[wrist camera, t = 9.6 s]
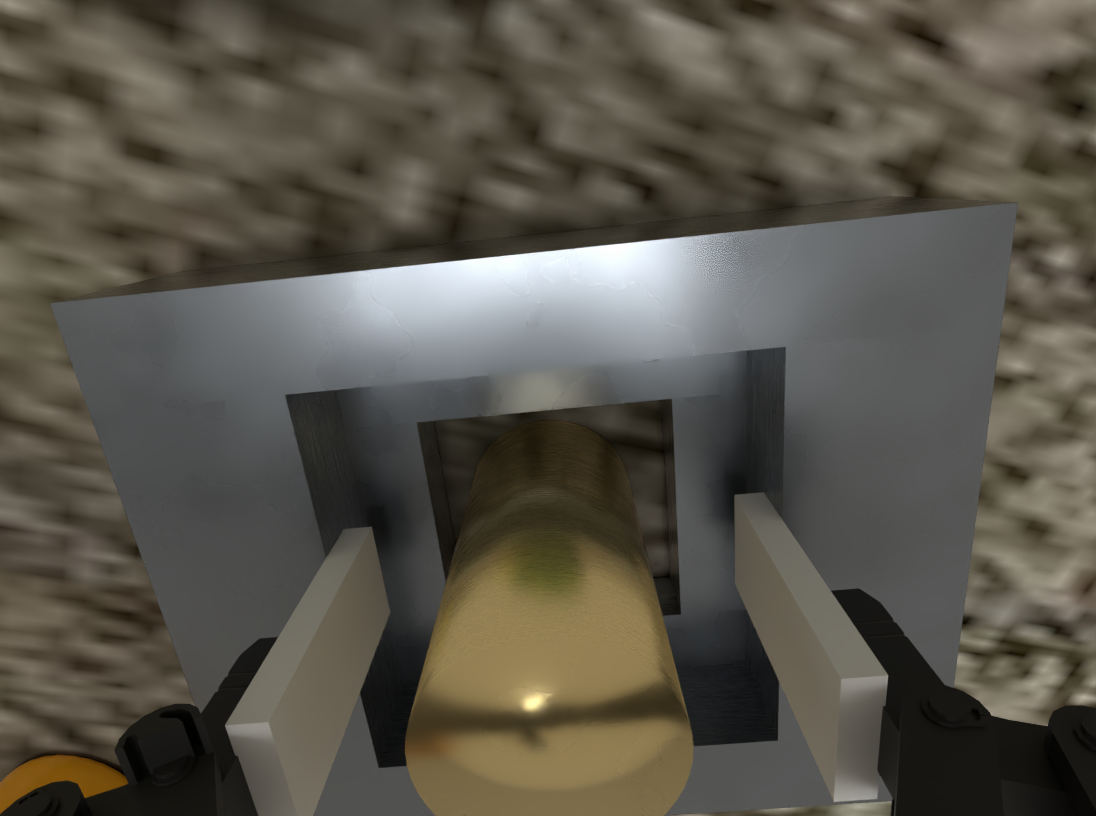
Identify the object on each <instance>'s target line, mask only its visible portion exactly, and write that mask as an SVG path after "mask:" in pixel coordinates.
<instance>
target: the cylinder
mask: <svg viewBox="0 0 1096 816" xmlns="http://www.w3.org/2000/svg"><path fill="white" fill-rule="evenodd" d="M67 780H68V781H71V782H74V783H78V785H79V787H80V789H81V791H82V793H83V795H84V798H87V797H90V796H93V795H96V794H99V793H102V792H105V791H109V790H112V789H115V788H118V787H121V786H124V785H126V784H128V781H127V779H126V777H125V776H124V775H123V774H121V773H120V772H119V771H117V770H115V769H113V768H111V767H109V766H107V765H105V764H103V763H100V762H97V761H94V760H91V759H88V758H82V757H78V756H71V755H52V756H43V757H40V758H36V759H32V760H30V761H28V762H26V763H24V764H22V765H20V766H19V767H17V768H16V769H14V770H13V771H12V772H10V773H9V774H8V775H7V776H6V777H5V778H4V779H3V780H2V781H1V782H0V814H1V813H2V812H3V811H4V810H5V809H7V808H8V807H9V806H10V805H11V804H13V803H14V802H15V801H16V800H17V799H19V798H21V797H22V796H24V795H26V794H28V793H29V792H31V791H33V790H34V789H36V788H39V787H42V786H44V785H47V784H50V783H52V782H59V781H67Z"/></svg>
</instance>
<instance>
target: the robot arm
mask: <svg viewBox="0 0 1096 816" xmlns="http://www.w3.org/2000/svg"><path fill="white" fill-rule="evenodd" d="M734 515H735V585H736V587H737V590H738V592H739V594H740V596H741V598H742V601H743V603H744V605H745V607H746V609H747V612H748V614H749V616H750V618H751V620H752V623H753V625H754V627H755V629H756V631H757V634H758V636H759V638H760V640H761V642H762V645H763V647H764V649H765V651H766V653H767V656H768V658H769V660H770V662H771V665H772V667H773V669H774V671H775V673H776V676H777V678H778V680H779V682H780V684H781V687H782V689H783V691H784V693H785V695H786V698H787V700H788V702H789V704H790V706H791V709H792V711H793V713H794V715H795V717H796V720H797V722H798V724H799V726H800V728H801V731H802V733H803V735H804V737H805V740H806V742H807V744H808V746H809V748H810V751H811V753H812V755H813V757H814V759H815V762H816V764H817V766H818V768H819V770H820V773H821V775H822V777H823V779H824V781H825V784H826V786H827V788H828V790H829V792H830V795H831V797H832V799H833V801H834V802H840V801H855V800H870V799H877V795H878V784H879V775H880V776H881V778H882V780H883V782H884V784H885V785H886V787H887V789H888V791H889V793H890V795H891V796H892V806H891V816H1096V708H1091V707H1086V706H1064V707H1062V708H1059V709H1057V710H1055V711H1053V713H1052V715H1051V717H1050V719H1049V723H1048V726H1042V725H1036V724H1030V723H1024V722H1018V721H1012V720H1007V719H1003V718H998V717H994V716H991V714H990V712H989V711H988V710H987V709H986V708H985V707H984V706H983V705H982V704H981V703H980V702H979V701H978V700H976V699H975V698H973V697H971V696H970V695H968V694H967V693H965V692H963V691H961V690H958V689H955V688H952V687H949V686H947V685H944V683H943V682H942V681H941V679H940V678H939V677H938V676H937V674H936V673H935V672H934V670H933V669H932V668H931V667H930V665H929V664H928V663H927V661H926V660H925V659H924V658H923V656H922V655H921V654H920V653H919V651H918V650H917V649H916V647H915V646H914V645H913V644H912V642H911V641H910V640H909V638H908V637H907V636H905V635H904V632H903V631H902V629H901V628H900V627H899V626H898V624H897V623H896V622H894V620H893V618H892V617H891V615H890V614H889V613H888V611H887V610H886V609H885V608H884V606H883V605H882V604H881V602H879V601H878V600H876V599H875V598H873V597H872V596H870V595H869V594H867V593H866V592H864V591H863V590H861V589H859V588H856V589H844V590H832V591H830V589H829V588H828V586H827V585H826V583H825V582H824V580H823V579H822V577H821V576H820V574H819V573H818V571H817V570H816V568H815V567H814V566H813V564H812V563H811V561H810V560H809V558H808V557H807V555H806V554H805V552H804V551H803V549H802V548H801V546H800V545H799V543H798V542H797V541H796V539H795V538H794V536H793V535H792V533H791V532H790V530H789V529H788V527H787V526H786V524H785V523H784V521H783V520H782V518H781V517H780V516H779V514H778V513H777V511H776V510H775V508H774V507H773V505H772V504H771V502H770V501H769V499H768V498H767V496H766V495H765V493H764V492H762V493H750V494H739V495H734ZM389 615H390V608H389V604H388V599H387V595H386V590H385V585H384V581H383V576H382V572H381V567H380V563H379V558H378V553H377V549H376V544H375V540H374V535H373V530H372V527H362V528H351V529H343V531H342V533H341V534H340V536H339V538H338V539H337V541H336V543H335V544H334V546H333V548H332V549H331V551H330V553H329V554H328V556H327V558H326V559H325V561H324V562H323V564H322V566H321V567H320V569H319V571H318V572H317V574H316V576H315V577H314V579H313V581H312V582H311V584H310V586H309V587H308V589H307V591H306V592H305V594H304V596H303V597H302V599H301V600H300V602H299V604H298V605H297V607H296V609H295V610H294V612H293V614H292V615H291V617H290V619H289V620H288V622H287V624H286V625H285V627H284V629H283V630H282V632H281V634H280V635H279V637H270V638H259V639H258V640H257V641H256V642H255V643H253V644H252V645H251V646H250V647H249V648H248V649H246V650H245V651H244V652H243V653H242V654H241V655H240V656H239V657H238V659H237V660H236V662H235V663H234V665H233V666H232V668H231V669H230V671H229V672H228V677H225V678H224V680H223V681H222V683H221V684H220V686H219V687H218V692H215V693H214V695H213V696H212V698H211V699H210V701H209V702H208V704H207V705H206V707H205V708H204V710H203V711H202V713H201V714H200V711H199V709H198V708H197V707H195V706H193V705H191V704H174V705H170V706H166V707H163V708H160V709H158V710H156V711H154V712H152V713H150V714H148V715H146V716H144V717H143V718H141V719H140V720H139V721H137V722H136V723H134V724H133V725H132V726H130V727H129V729H128V730H127V731H126V732H125V733H124V734H123V735H122V737H121V738H120V739H119V741H118V743H117V746H116V748H115V753H116V755H117V758H118V760H119V762H120V765H121V767H122V769H123V772H124V774H125V777H126V779H127V781H128V784H126V785H124V786H121V787H118V788H115V789H112V790H109V791H105V792H102V793H99V794H96V795H93V796H90V797H87V798H84V795H83V793H82V791H81V789H80V787H79V785H78V783H74V782H71V781H68V780H67V781H59V782H52V783H50V784H47V785H44V786H42V787H39V788H36V789H34V790H33V791H31V792H29V793H28V794H26V795H24V796H22V797H21V798H19V799H17V800H16V801H15V802H14V803H13V804H11V805H10V806H9V807H8V808H7V809H5V810H4V811H3V812H2V813H1V814H0V816H313V815H314V812H315V809H316V807H317V804H318V801H319V799H320V796H321V794H322V791H323V788H324V786H325V783H326V780H327V778H328V775H329V773H330V770H331V767H332V765H333V762H334V759H335V757H336V754H337V751H338V749H339V746H340V744H341V741H342V738H343V736H344V733H345V730H346V728H347V725H348V722H349V720H350V717H351V715H352V712H353V709H354V707H355V704H356V701H357V699H358V696H359V694H360V691H361V688H362V686H363V683H364V680H365V678H366V675H367V672H368V670H369V667H370V665H371V662H372V659H373V657H374V654H375V651H376V649H377V646H378V643H379V641H380V638H381V636H382V633H383V630H384V628H385V625H386V622H387V620H388V617H389Z"/></svg>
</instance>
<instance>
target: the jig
mask: <svg viewBox="0 0 1096 816" xmlns="http://www.w3.org/2000/svg"><path fill="white" fill-rule="evenodd" d="M1017 205H1018V202H999V201H978V200H956V199H935V198H914V197H884V198H875V199H865V200H856V201H846V202H837V203H827V204H818V205H809V206H799V207H790V208H780V209H771V210H761V211H752V212H742V213H733V214H723V215H714V216H704V217H695V218H685V219H676V220H667V221H657V222H648V223H638V224H629V225H619V226H610V227H600V228H591V229H581V230H572V231H562V232H553V233H543V234H534V235H525V236H515V237H506V238H496V239H487V240H477V241H468V242H458V243H449V244H439V245H430V246H420V247H411V248H401V249H392V250H383V251H373V252H364V253H354V254H345V255H335V256H326V257H316V258H307V259H297V260H288V261H278V262H269V263H259V264H250V265H241V266H231V267H222V268H212V269H203V270H193V271H184V272H177V273H173V274H169V275H165V276H161V277H157V278H153V279H149V280H144V281H140V282H136V283H132V284H128V285H124V286H120V287H116V288H111V289H107V290H103V291H99V292H95V293H91V294H87V295H83V296H78V297H74V298H70V299H66V300H62V301H58V302H54V303H50V304H51V307H52V310H53V313H54V315H55V318H56V321H57V324H58V326H59V329H60V332H61V335H62V338H63V340H64V343H65V346H66V349H67V351H68V354H69V357H70V360H71V362H72V365H73V368H74V371H75V374H76V376H77V379H78V382H79V385H80V387H81V390H82V393H83V396H84V399H85V401H86V404H87V407H88V410H89V412H90V415H91V418H92V421H93V423H94V426H95V429H96V432H97V435H98V437H99V440H100V443H101V446H102V448H103V451H104V454H105V457H106V459H107V462H108V465H109V468H110V471H111V473H112V476H113V479H114V482H115V484H116V487H117V490H118V493H119V496H120V498H121V501H122V504H123V507H124V509H125V512H126V515H127V518H128V520H129V523H130V526H131V529H132V532H133V534H134V537H135V540H136V543H137V545H138V548H139V551H140V554H141V557H142V559H143V562H144V565H145V568H146V570H147V573H148V576H149V579H150V581H151V584H152V587H153V590H154V593H155V595H156V598H157V601H158V604H159V606H160V609H161V612H162V615H163V617H164V620H165V623H166V626H167V629H168V631H169V634H170V637H171V640H172V642H173V645H174V648H175V651H176V654H177V656H178V659H179V662H180V665H181V667H182V670H183V673H184V676H185V678H186V681H187V684H188V687H189V690H190V692H191V695H192V698H193V701H194V703H195V706H196V707H197V708H198V709H199V711H200V714H201V713H202V711H203V710H204V708H205V707H206V705H207V704H208V702H209V701H210V699H211V698H212V696H213V695H214V693H215V692H218V687H219V686H220V684H221V683H222V681H223V680H224V678H225V677H228V672H229V671H230V669H231V668H232V666H233V665H234V663H235V662H236V660H237V659H238V657H239V656H240V655H241V654H242V653H243V652H244V651H245V650H246V649H248V648H249V647H250V646H251V645H252V644H253V643H255V642H256V641H257V640H258V639H259V638H270V637H279V635H280V634H281V632H282V630H283V629H284V627H285V625H286V624H287V622H288V620H289V619H290V617H291V615H292V614H293V612H294V610H295V609H296V607H297V605H298V604H299V602H300V600H301V599H302V597H303V596H304V594H305V592H306V591H307V589H308V587H309V586H310V584H311V582H312V581H313V579H314V577H315V576H316V574H317V572H318V571H319V569H320V567H321V566H322V564H323V562H324V561H325V559H326V558H327V556H328V554H329V553H330V551H331V549H332V548H333V546H334V544H335V543H336V541H337V539H338V538H339V536H340V534H341V533H342V531H343V529H351V528H362V527H372V530H373V535H374V540H375V544H376V549H377V553H378V558H379V563H380V567H381V572H382V576H383V581H384V585H385V590H386V595H387V599H388V604H389V608H390V615H389V617H388V620H387V622H386V625H385V628H384V630H383V633H382V636H381V638H380V641H379V643H378V646H377V649H376V651H375V654H374V657H373V659H372V662H371V665H370V667H369V670H368V672H367V675H366V678H365V680H364V683H363V686H362V688H361V691H360V694H359V696H358V699H357V701H356V704H355V707H354V709H353V712H352V715H351V717H350V720H349V722H348V725H347V728H346V730H345V733H344V736H343V738H342V741H341V744H340V746H339V749H338V751H337V754H336V757H335V759H334V762H333V765H332V767H331V770H330V773H329V775H328V778H327V780H326V783H325V786H324V788H323V791H322V794H321V796H320V799H319V801H318V804H317V807H316V809H315V812H314V815H313V816H436V815H435V814H434V813H433V812H432V811H431V810H430V809H429V808H428V807H427V805H426V804H425V803H424V801H423V800H422V798H421V797H420V795H419V794H418V792H417V790H416V788H415V786H414V784H413V782H412V780H411V777H410V774H409V771H408V768H407V763H406V756H405V737H406V732H407V727H408V722H409V718H410V715H411V711H412V707H413V704H414V700H415V696H416V692H417V689H418V685H419V681H420V677H421V674H422V670H423V666H424V662H425V659H426V655H427V651H428V648H429V644H430V640H431V636H432V633H433V629H434V625H435V621H436V618H437V614H438V610H439V607H440V603H441V599H442V595H443V592H444V588H445V584H446V580H447V577H448V573H449V569H450V566H451V562H452V558H453V554H454V551H455V541H454V535H453V529H452V523H451V518H450V512H449V506H448V500H447V494H446V489H445V483H444V477H443V471H442V466H441V460H440V454H439V448H438V442H437V437H436V431H435V425H434V421H438V420H448V419H459V418H470V417H481V416H491V415H502V414H513V413H524V412H534V411H545V410H556V409H567V408H577V407H588V406H599V405H609V404H620V403H631V402H642V401H652V400H662V415H663V436H664V458H665V479H666V500H667V522H668V543H669V564H670V577H659V578H653V579H654V583H655V587H656V591H657V595H658V599H659V603H660V607H661V611H662V615H663V619H664V623H665V627H666V631H667V635H668V639H669V643H670V647H671V651H672V655H673V659H674V663H675V667H676V671H677V675H678V679H679V683H680V687H681V690H682V694H683V698H684V702H685V706H686V710H687V714H688V718H689V722H690V726H691V730H692V737H693V745H694V747H693V762H692V766H691V771H690V775H689V777H688V780H687V782H686V785H685V787H684V789H683V791H682V793H681V794H680V796H679V798H678V799H677V801H676V802H675V803H674V805H673V806H672V807H671V808H670V810H669V811H668V812H667V813H666V814H665V815H680V814H696V813H711V812H727V811H742V810H758V809H774V808H789V807H805V806H821V805H836V804H852V803H868V802H883V801H892V796H891V795H890V793H889V791H888V789H887V787H886V785H885V784H884V782H883V780H882V778H881V776H880V775H879V784H878V795H877V799H870V800H855V801H840V802H834V801H833V799H832V797H831V795H830V792H829V790H828V788H827V786H826V784H825V781H824V779H823V777H822V775H821V773H820V770H819V768H818V766H817V764H816V762H815V759H814V757H813V755H812V753H811V751H810V748H809V746H808V744H807V742H806V740H805V737H804V735H803V733H802V731H801V728H800V726H799V724H798V722H797V720H796V717H795V715H794V713H793V711H792V709H791V706H790V704H789V702H788V700H787V698H786V695H785V693H784V691H783V689H782V687H781V684H780V682H779V680H778V678H777V676H776V673H775V671H774V669H773V667H772V665H771V662H770V660H769V658H768V656H767V653H766V651H765V649H764V647H763V645H762V642H761V640H760V638H759V636H758V634H757V631H756V629H755V627H754V625H753V623H752V620H751V618H750V616H749V614H748V612H747V609H746V607H745V605H744V603H743V601H742V598H741V596H740V594H739V592H738V590H737V587H736V585H735V515H734V495H739V494H750V493H762V492H764V493H765V495H766V496H767V498H768V499H769V501H770V502H771V504H772V505H773V507H774V508H775V510H776V511H777V513H778V514H779V516H780V517H781V518H782V520H783V521H784V523H785V524H786V526H787V527H788V529H789V530H790V532H791V533H792V535H793V536H794V538H795V539H796V541H797V542H798V543H799V545H800V546H801V548H802V549H803V551H804V552H805V554H806V555H807V557H808V558H809V560H810V561H811V563H812V564H813V566H814V567H815V568H816V570H817V571H818V573H819V574H820V576H821V577H822V579H823V580H824V582H825V583H826V585H827V586H828V588H829V589H830V591H832V590H844V589H856V588H859V589H861V590H863V591H864V592H866V593H867V594H869V595H870V596H872V597H873V598H875V599H876V600H878V601H879V602H881V604H882V605H883V606H884V608H885V609H886V610H887V611H888V613H889V614H890V615H891V617H892V618H893V620H894V622H896V623H897V624H898V626H899V627H900V628H901V629H902V631H903V632H904V635H905V636H907V637H908V638H909V640H910V641H911V642H912V644H913V645H914V646H915V647H916V649H917V650H918V651H919V653H920V654H921V655H922V656H923V658H924V659H925V660H926V661H927V663H928V664H929V665H930V667H931V668H932V669H933V670H934V672H935V673H936V674H937V676H938V677H939V678H940V679H941V681H942V682H943V683H944V685H947V686H949V687H952V688H953V687H954V680H955V672H956V664H957V657H958V649H959V642H960V634H961V627H962V619H963V612H964V604H965V597H966V589H967V582H968V574H969V566H970V559H971V551H972V544H973V536H974V529H975V521H976V514H977V506H978V499H979V491H980V484H981V476H982V468H983V461H984V453H985V446H986V438H987V431H988V423H989V416H990V408H991V401H992V393H993V386H994V378H995V370H996V363H997V355H998V348H999V340H1000V333H1001V325H1002V318H1003V310H1004V303H1005V295H1006V288H1007V280H1008V272H1009V265H1010V257H1011V250H1012V242H1013V235H1014V227H1015V220H1016V212H1017Z"/></svg>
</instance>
